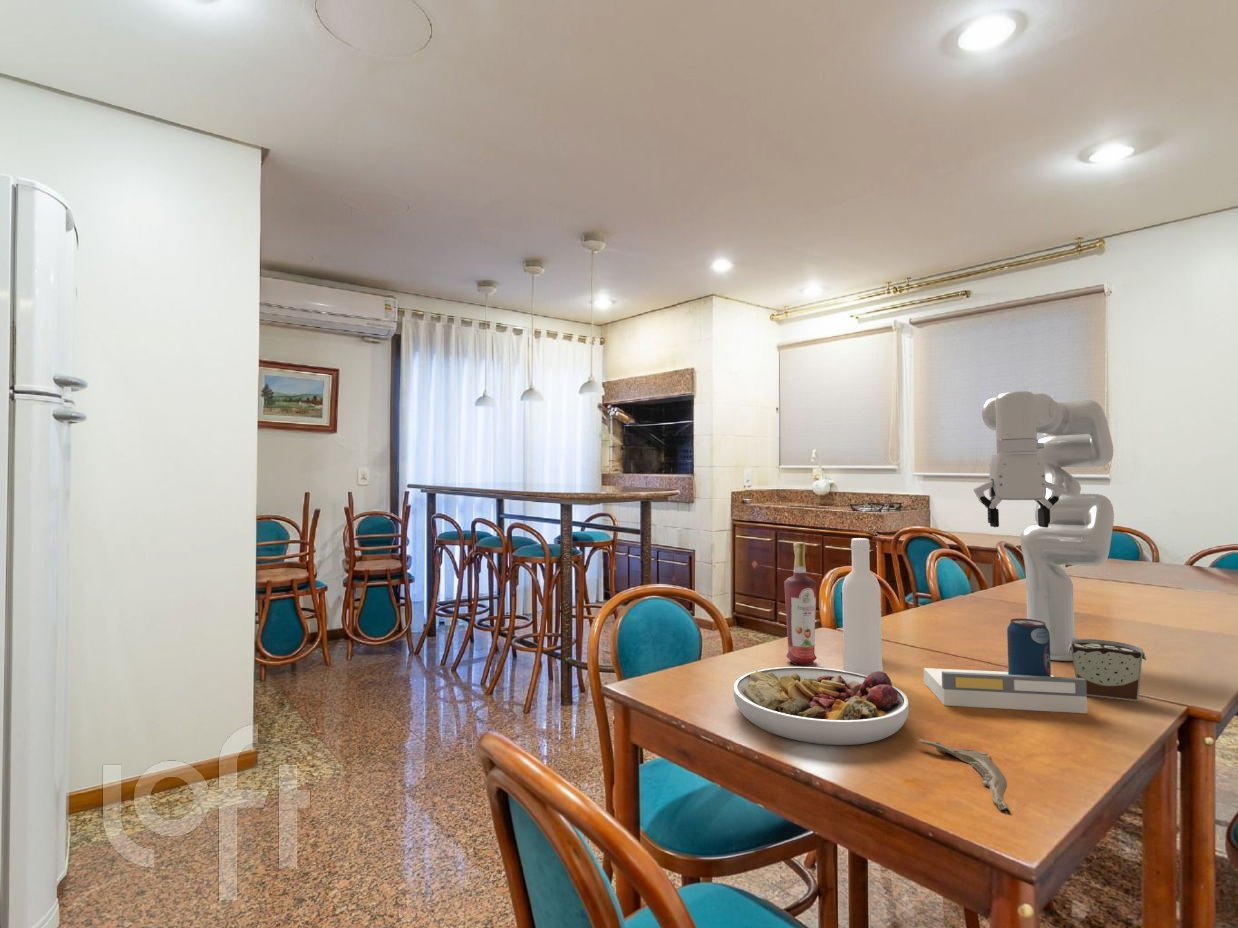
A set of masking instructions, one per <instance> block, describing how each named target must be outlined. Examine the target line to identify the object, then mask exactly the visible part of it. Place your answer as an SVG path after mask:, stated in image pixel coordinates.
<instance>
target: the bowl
mask: <svg viewBox="0 0 1238 928" xmlns="http://www.w3.org/2000/svg"><path fill="white" fill-rule="evenodd" d="M733 698H734V702H735V703H736V704H735V705H736V707H737V708H738V710H739V711H740V713H741V714H742V715H743V716H744V717H745V718H746V719H747V720H748V721H750V722H751V723H752V724H754V725H755V726H756V727H758V728H760V729H762V730H763V731H765V732H766V731H767V732H768V733H770V734H774V735H777V736H780V737H782V738H786V739H790V740H794V741H798V742H803V743H810V744H815V745H816V744H817V745H826V746H827V745H828V746H853V745H863V744H868V743H875V742H877V741H880V740H884V739H886V738H889V737H890V736H893V734H895V733H897V732H898V731H899V730H900V729H901V728H902V727H903V726H904V724H905V722H906V721H907V719H908V715H909V707H910V705H909V699H908V697H907V695H906V694H905V692H903V691H902V690H901V689H899V688H898V687H896V686H894V685H892V681H891V678H890V677H889V676H888V674H887V673H886V672H884V671H883V672H881V671H877V672H873V673H871V674H870V675H868V676H866V675H862V674H857V673H853V672H848V671H844V670H843V669H842V670H841V669H836V668H835V669H834V668H833V669H832V668H825V667H816V666H815V667H813V666H783V667H772V668H765V669H759V670H755V671H751V672H749V673H746V674H744V675H742V676H740V677H738V678H737V680H735V681H734V684H733Z"/></svg>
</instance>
